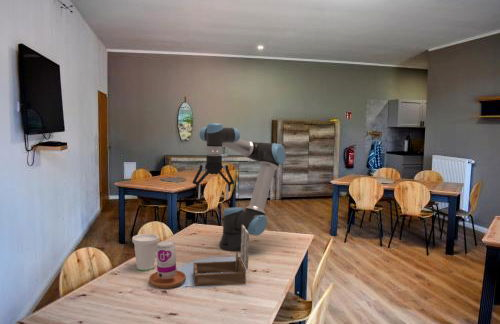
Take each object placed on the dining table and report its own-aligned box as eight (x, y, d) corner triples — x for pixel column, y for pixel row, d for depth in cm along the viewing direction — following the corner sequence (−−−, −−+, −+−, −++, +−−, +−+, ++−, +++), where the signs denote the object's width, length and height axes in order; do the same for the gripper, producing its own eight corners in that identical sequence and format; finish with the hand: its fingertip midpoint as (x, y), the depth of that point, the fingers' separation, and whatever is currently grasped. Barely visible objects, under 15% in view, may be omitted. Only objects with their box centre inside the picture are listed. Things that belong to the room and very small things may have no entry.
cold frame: (193, 272, 178) (194, 225, 176) (241, 270, 183) (243, 224, 181) (194, 286, 163) (195, 234, 161) (247, 283, 168) (249, 233, 166)
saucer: (166, 293, 156) (167, 286, 156) (141, 284, 165) (141, 277, 165) (193, 281, 169) (193, 275, 169) (168, 273, 178) (168, 267, 178)
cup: (163, 266, 186) (164, 236, 184) (147, 274, 174) (147, 242, 173) (144, 261, 191) (144, 232, 190) (126, 269, 180) (126, 238, 178)
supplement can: (173, 279, 163) (171, 246, 161) (155, 279, 163) (153, 246, 162) (178, 272, 171) (177, 240, 169) (161, 272, 171) (159, 240, 170)
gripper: (188, 155, 176) (187, 199, 178) (240, 156, 181) (239, 199, 182) (187, 153, 183) (187, 196, 185) (238, 154, 188) (237, 196, 190)
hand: (213, 198), depth 184 cm, fingers open, 13 cm apart
